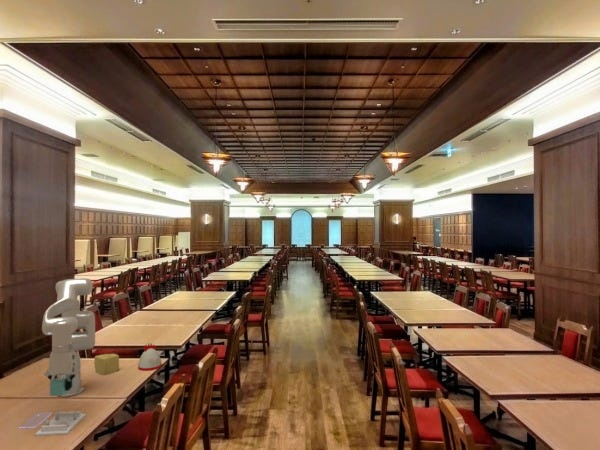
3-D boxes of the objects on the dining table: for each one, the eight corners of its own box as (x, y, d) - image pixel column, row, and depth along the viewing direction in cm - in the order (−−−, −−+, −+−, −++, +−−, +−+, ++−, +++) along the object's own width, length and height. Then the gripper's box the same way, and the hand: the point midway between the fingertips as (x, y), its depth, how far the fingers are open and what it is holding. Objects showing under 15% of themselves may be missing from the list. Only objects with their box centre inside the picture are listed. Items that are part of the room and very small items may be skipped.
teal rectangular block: (61, 387, 187) (61, 373, 187) (73, 386, 187) (73, 373, 188) (50, 395, 177) (50, 381, 177) (62, 395, 177) (62, 380, 178)
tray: (56, 416, 190) (56, 407, 190) (85, 415, 191) (85, 406, 191) (34, 435, 172) (34, 425, 172) (67, 434, 173) (67, 424, 173)
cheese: (110, 367, 259) (110, 352, 260) (119, 371, 253) (119, 354, 253) (94, 372, 251) (94, 356, 251) (103, 376, 245) (103, 359, 245)
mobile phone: (17, 427, 179) (36, 412, 194) (17, 429, 179) (36, 414, 194) (35, 426, 180) (53, 411, 195) (35, 428, 180) (53, 413, 194)
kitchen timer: (134, 367, 260) (134, 343, 261) (155, 362, 270) (155, 339, 270) (143, 372, 250) (143, 347, 250) (165, 367, 260) (165, 343, 260)
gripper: (85, 345, 187) (85, 385, 187) (46, 347, 186) (46, 387, 185) (78, 350, 180) (78, 392, 179) (37, 351, 178) (37, 394, 178)
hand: (62, 389), depth 182 cm, fingers closed on teal rectangular block, 5 cm apart
